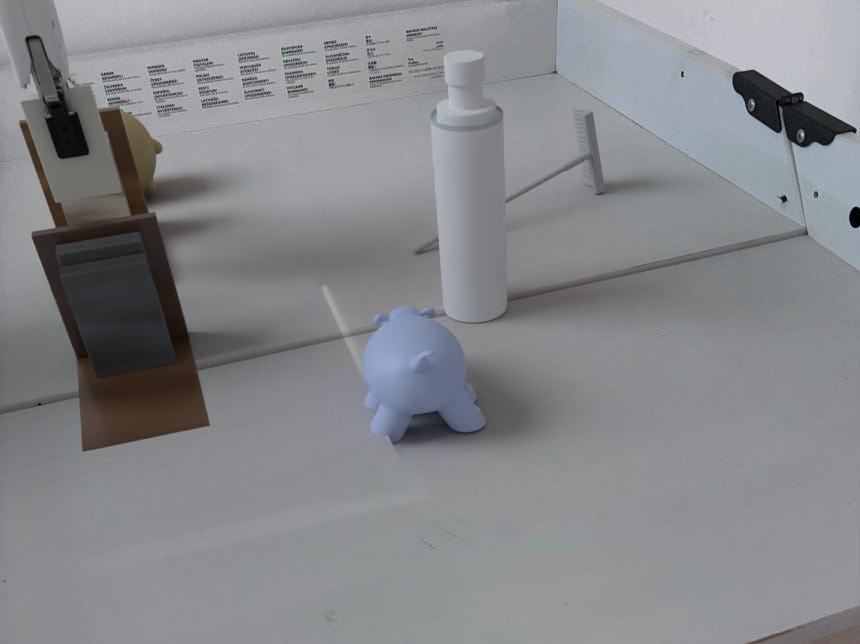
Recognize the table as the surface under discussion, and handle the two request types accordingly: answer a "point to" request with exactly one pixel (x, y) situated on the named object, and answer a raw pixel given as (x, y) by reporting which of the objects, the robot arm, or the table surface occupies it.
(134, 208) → the wooden bookshelf
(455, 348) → the hippopotamus toy
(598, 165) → the grey toy rake
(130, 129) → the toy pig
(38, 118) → the white book
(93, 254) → the stand
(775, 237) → the table surface
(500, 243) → the spray bottle
